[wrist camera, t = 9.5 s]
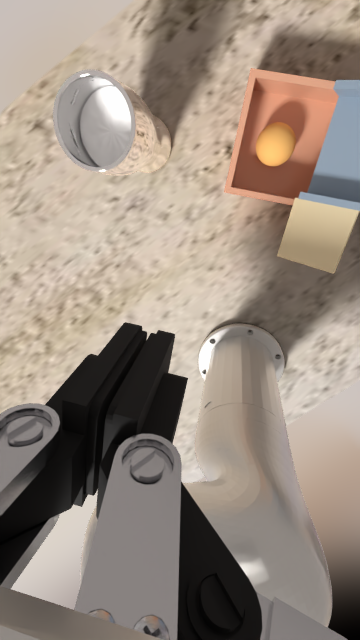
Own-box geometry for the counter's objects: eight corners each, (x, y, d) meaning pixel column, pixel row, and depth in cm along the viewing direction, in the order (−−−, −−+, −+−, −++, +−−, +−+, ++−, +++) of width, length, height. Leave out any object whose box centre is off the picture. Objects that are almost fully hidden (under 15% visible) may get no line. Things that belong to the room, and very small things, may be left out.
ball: (246, 162, 34) (279, 169, 35) (258, 162, 31) (294, 169, 31) (256, 121, 32) (291, 128, 33) (270, 115, 29) (308, 124, 30)
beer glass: (140, 188, 38) (88, 192, 25) (107, 135, 37) (32, 108, 23) (186, 154, 36) (156, 138, 23) (153, 95, 34) (99, 39, 21)
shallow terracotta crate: (313, 207, 36) (324, 211, 31) (225, 190, 37) (224, 192, 32) (350, 100, 31) (369, 86, 27) (249, 83, 32) (250, 68, 28)
